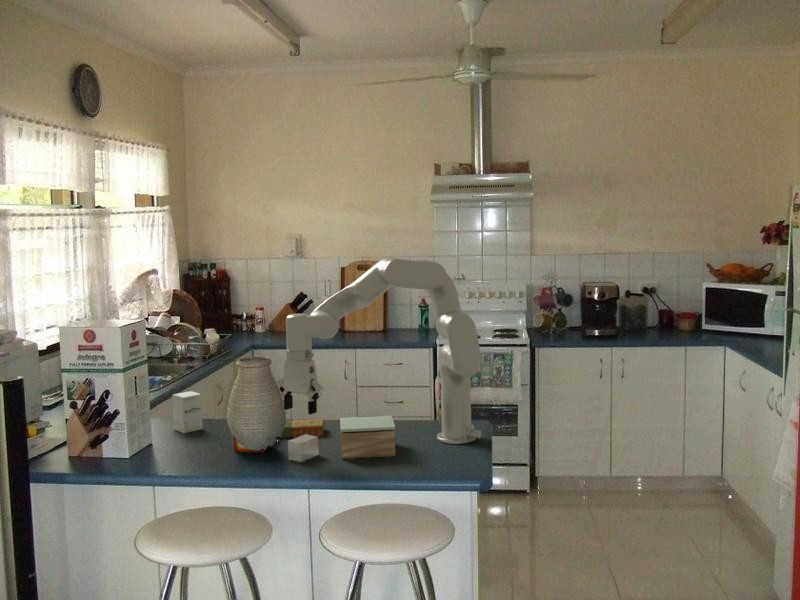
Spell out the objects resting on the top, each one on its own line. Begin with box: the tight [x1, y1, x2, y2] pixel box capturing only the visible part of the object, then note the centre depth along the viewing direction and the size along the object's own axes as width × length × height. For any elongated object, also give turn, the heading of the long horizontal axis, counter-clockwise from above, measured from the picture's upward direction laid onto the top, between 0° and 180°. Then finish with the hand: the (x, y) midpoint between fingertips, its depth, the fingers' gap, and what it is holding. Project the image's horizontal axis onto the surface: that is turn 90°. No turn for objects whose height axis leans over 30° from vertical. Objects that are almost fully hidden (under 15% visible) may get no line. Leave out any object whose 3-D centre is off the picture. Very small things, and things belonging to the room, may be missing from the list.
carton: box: [279, 418, 325, 439], centre depth 263 cm, size 8×16×4 cm, turn 93°
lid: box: [339, 415, 396, 433], centre depth 242 cm, size 14×16×1 cm
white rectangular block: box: [287, 434, 320, 463], centre depth 237 cm, size 5×8×6 cm, turn 145°
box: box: [340, 429, 396, 460], centre depth 242 cm, size 14×16×8 cm
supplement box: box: [171, 390, 204, 434], centre depth 270 cm, size 7×7×13 cm
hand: (300, 411), depth 236 cm, fingers open, 9 cm apart
